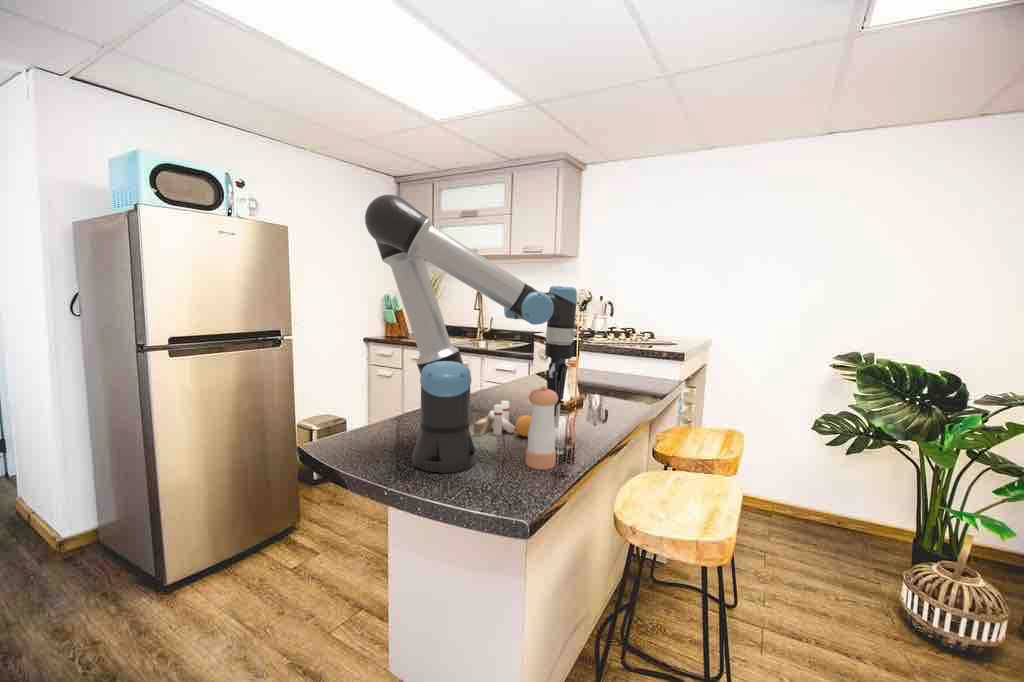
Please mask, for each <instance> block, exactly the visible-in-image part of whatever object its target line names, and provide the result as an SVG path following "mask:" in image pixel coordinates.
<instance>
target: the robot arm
mask: <svg viewBox="0 0 1024 682" xmlns="http://www.w3.org/2000/svg"><path fill="white" fill-rule="evenodd" d="M364 222H365V228H366V229H367V231H368V233H369V235H370V236H371V237H372V238H373V239H374V240H375V242H376V245H377V248H378V251H379V255H380V257H381V261H382V262H383V263H385V264H386V265H389V267H390V268H391V271H392V275H393V277H394V280H395V284H396V286H397V289H398V293H399V295H400V298H401V301H402V304H403V307H404V311H405V313H406V316H407V319H408V323H409V326H410V329H411V331H412V335H413V337H414V338H413V339H414V341H415V344H416V346H417V350H418V353H419V356H418V358H417V360H416V362H415V363H416V366H417V369H418V372H419V374H420V378H419V383H420V420H419V421H420V422H419V423H420V426H419V427H420V429H419V433H418V435H417V439H416V442H415V445H414V448H413V449H412V450H413V451H412V460H411V462H413V463H412V465H413V464H414V465H415V466H416V467H418V468H420V469H422V470H421V471H423V470H426V471H425V472H427V471H431V472H430V473H432V472H439V473H438V474H451V473H452V474H453V473H459V472H462V471H466V470H468V469H470V468H472V467H473V466H474V465H475V464H476V460H477V458H476V457H477V452H476V448H475V445H474V441H473V437H472V435H471V431H470V414H471V412H470V411H471V384H472V375H471V370H470V367H468V366H467V365H466V364H464V362H463V359H462V355H461V352H460V350H459V348H458V347H455V346H454V345H452V343H451V339H450V336H449V333H448V331H447V328H446V325H445V321H444V318H443V314H442V312H441V309H440V306H439V303H438V299H437V295H436V292H435V290H434V289H435V288H434V287H433V284H432V283H433V282H432V279H431V276H430V274H429V271H428V267H427V264H426V261H427V262H428V263H430V264H431V265H433V266H435V267H436V268H438V269H440V270H442V271H443V272H445V273H447V274H448V275H450V276H452V277H453V278H455V279H457V280H458V281H460V282H461V283H463V284H465V285H466V286H468V287H470V288H471V289H473V290H475V291H476V292H478V293H480V294H482V295H483V296H485V297H487V298H488V299H490V300H492V301H493V302H494V303H497V304H498V305H500V306H501V307H503V315H504V316H505V318H506V319H512V320H523V321H525V322H528V323H529V324H530V325H536V326H537V325H542V324H544V323H546V334H545V340H546V343H545V347H544V348H545V349H544V355H545V356H546V358H550V363H549V364H548V369H547V370H546V371H545V372H546V373H545V374H546V387H547V389H550V390H552V391H554V392H556V394H557V395H558V401H557V403H556V404H555V407H554V427H555V429H557V428H559V427H560V426H559V425H560V416H561V415H560V413H561V404H564V403H565V402H564V400H563V399H564V394H565V386H566V379H567V373H568V369H569V367H568V365H567V363H566V360H569V359H571V358H573V353H574V346H573V344H572V343H573V342H574V336H576V335H577V333H576V331H575V323H576V311H577V306H578V304H577V303H578V301H577V299H578V291H577V289H576V287H574V286H564V285H563V286H560V285H551V286H549V291H547V292H542V291H538V290H537V289H535V288H534V287H532V286H531V285H529V284H527V283H526V282H524V281H522V280H521V279H519V278H518V277H516V276H515V275H513V274H512V273H510V272H508V271H507V270H506V269H503V268H502V267H500V266H498V265H497V264H496V263H494V262H492V261H491V260H489V259H488V258H486V257H484V256H483V255H481V254H480V253H478V252H476V251H474V250H473V249H471V248H470V247H468V246H466V245H464V244H463V243H462V242H460V241H459V240H457V239H455V238H453V237H452V236H450V235H449V234H447V233H445V232H444V231H443V230H441V229H439V228H438V227H436V226H435V225H433V223H432V220H431V217H429V216H427V215H425V214H423V213H422V212H421V211H419V209H416V208H415V207H414V206H413V205H412V204H411V203H409V202H408V201H407V200H406V199H404V198H402V197H400V196H398V195H395V194H383V195H380V196H378V197H375V198H374V199H373V200H372V201H371V202H370V203H369V204H368V206H367V208H366V210H365V215H364ZM414 465H413V466H414ZM415 466H414V467H415ZM416 467H415V468H416ZM418 468H417V469H418ZM420 469H419V470H420Z"/></svg>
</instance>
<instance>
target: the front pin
mask: <svg viewBox="0 0 1024 682" xmlns="http://www.w3.org/2000/svg"><path fill="white" fill-rule="evenodd" d="M486 416H487V417H489V418H490V419H491V420H492V421H494V409H492V410H490V411H489V413H488V414H487V415H486ZM502 428H504V429H505V430H506V431H507V433H509V434H513V432H514V430H516V425H513V424H512V423H511V422H510V421H509V422H508V421H507V420H505V419H504V418H503V417H502ZM506 431H505V432H506Z"/></svg>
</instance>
